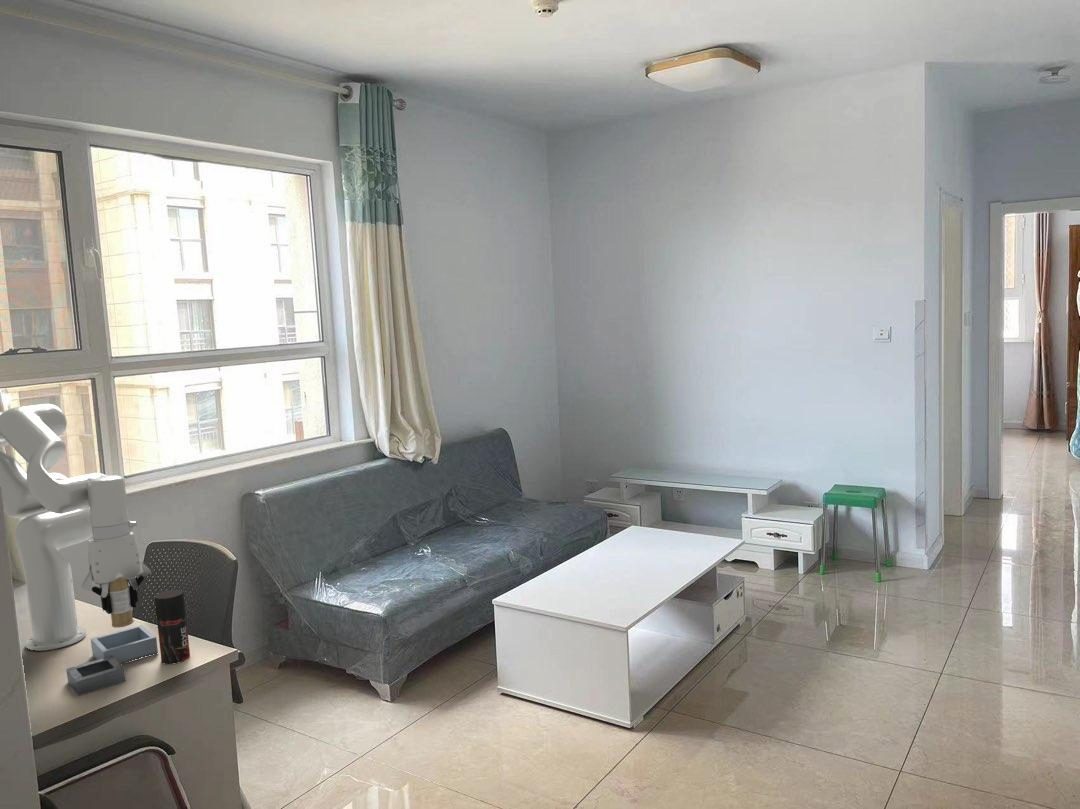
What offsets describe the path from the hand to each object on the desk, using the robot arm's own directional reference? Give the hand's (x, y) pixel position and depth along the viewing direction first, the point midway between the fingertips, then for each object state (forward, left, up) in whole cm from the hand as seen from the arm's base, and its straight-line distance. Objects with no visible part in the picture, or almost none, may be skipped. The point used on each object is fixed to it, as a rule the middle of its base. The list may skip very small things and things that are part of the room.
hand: (120, 608), depth 186 cm
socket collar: (+11, -9, -11) cm, 18 cm away
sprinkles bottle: (0, 0, -4) cm, 4 cm away
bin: (0, 0, -11) cm, 11 cm away
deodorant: (+11, +7, -11) cm, 18 cm away
